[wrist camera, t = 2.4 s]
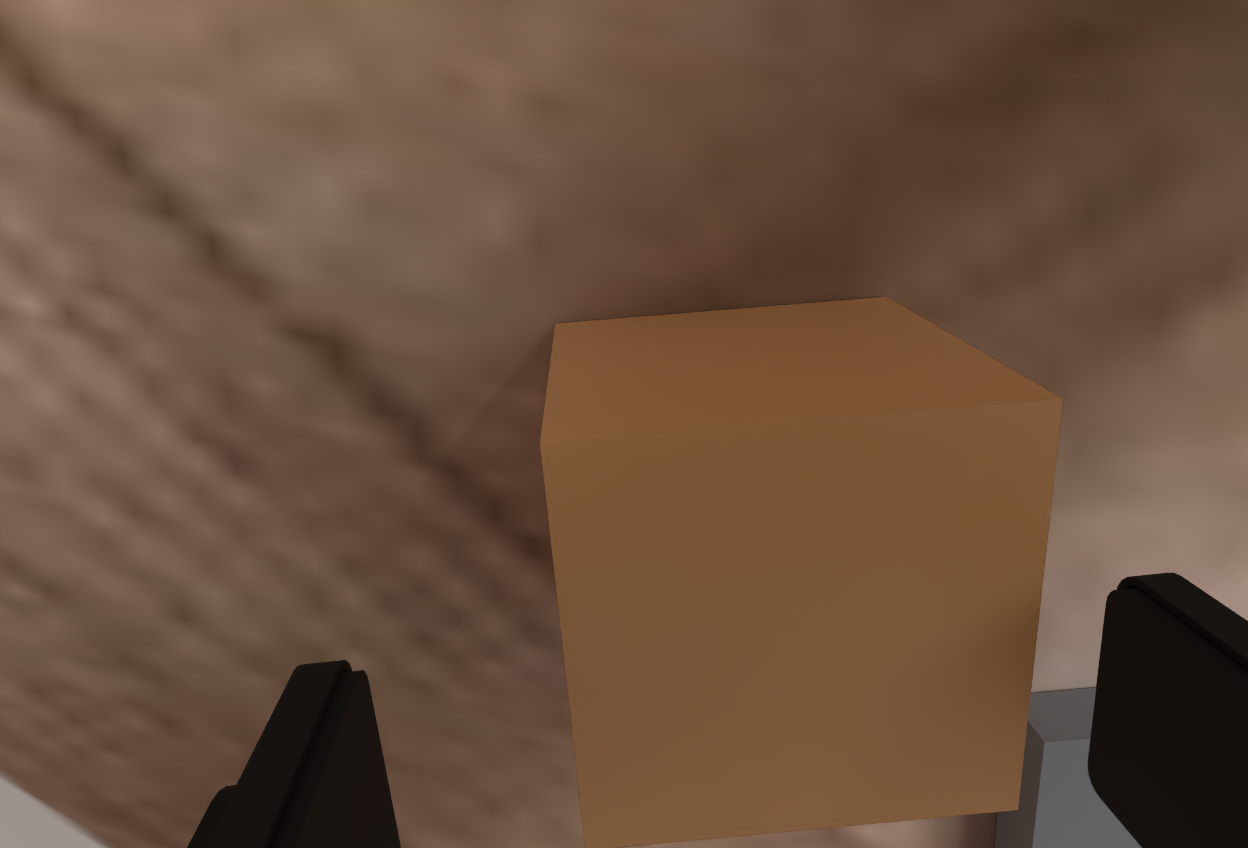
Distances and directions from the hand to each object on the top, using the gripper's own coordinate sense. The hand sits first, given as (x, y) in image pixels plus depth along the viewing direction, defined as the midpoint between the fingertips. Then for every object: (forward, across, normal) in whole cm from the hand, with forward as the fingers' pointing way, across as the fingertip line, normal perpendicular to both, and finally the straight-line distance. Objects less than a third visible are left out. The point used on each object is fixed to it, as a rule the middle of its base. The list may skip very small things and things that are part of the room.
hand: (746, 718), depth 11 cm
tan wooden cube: (+6, -1, -1) cm, 6 cm away
